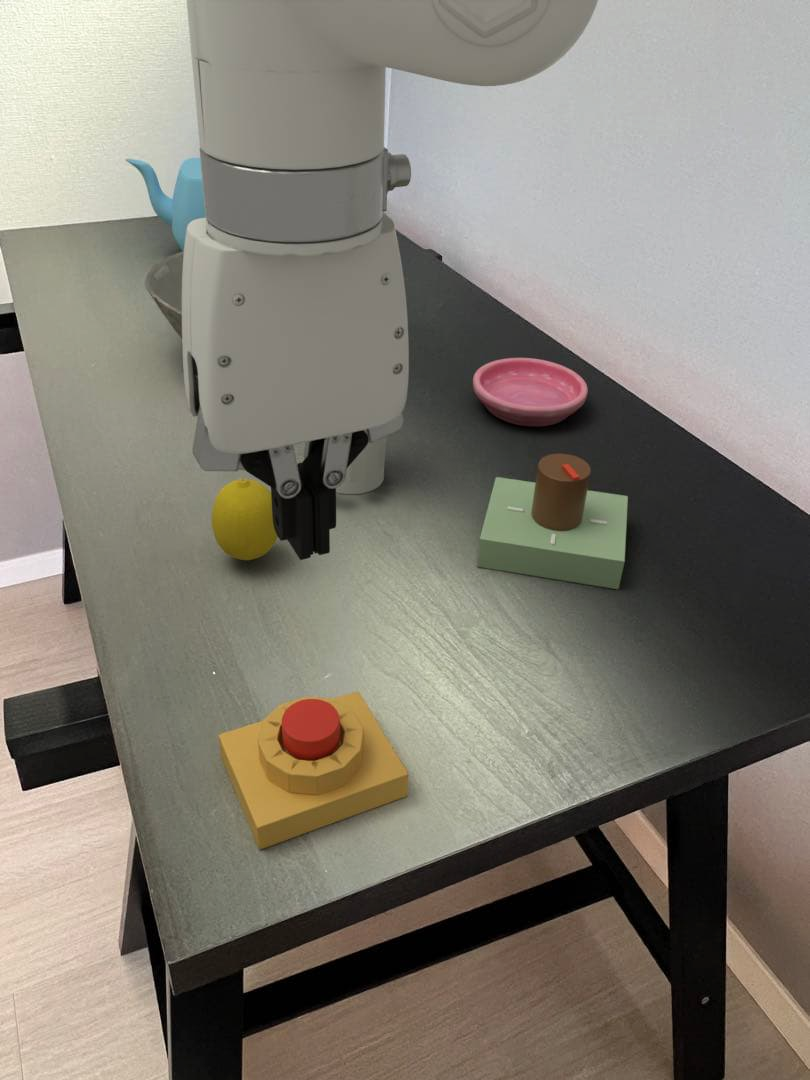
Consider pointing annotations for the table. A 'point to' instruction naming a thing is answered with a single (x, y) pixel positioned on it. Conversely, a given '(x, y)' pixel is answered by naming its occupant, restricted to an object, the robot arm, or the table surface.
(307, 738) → the button
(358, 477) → the cup
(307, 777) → the button box
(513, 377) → the saucer
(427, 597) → the table surface
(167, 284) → the ceramic bowl
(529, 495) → the panel
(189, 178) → the teapot
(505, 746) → the table surface
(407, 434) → the table surface
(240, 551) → the lemon
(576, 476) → the knob
